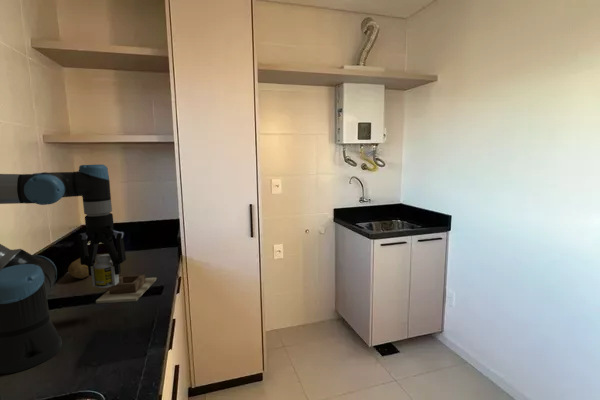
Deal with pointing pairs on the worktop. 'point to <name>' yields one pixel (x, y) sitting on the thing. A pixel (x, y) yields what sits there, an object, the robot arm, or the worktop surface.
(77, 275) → the potato
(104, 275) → the supplement bottle
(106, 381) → the worktop surface
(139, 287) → the collar board
